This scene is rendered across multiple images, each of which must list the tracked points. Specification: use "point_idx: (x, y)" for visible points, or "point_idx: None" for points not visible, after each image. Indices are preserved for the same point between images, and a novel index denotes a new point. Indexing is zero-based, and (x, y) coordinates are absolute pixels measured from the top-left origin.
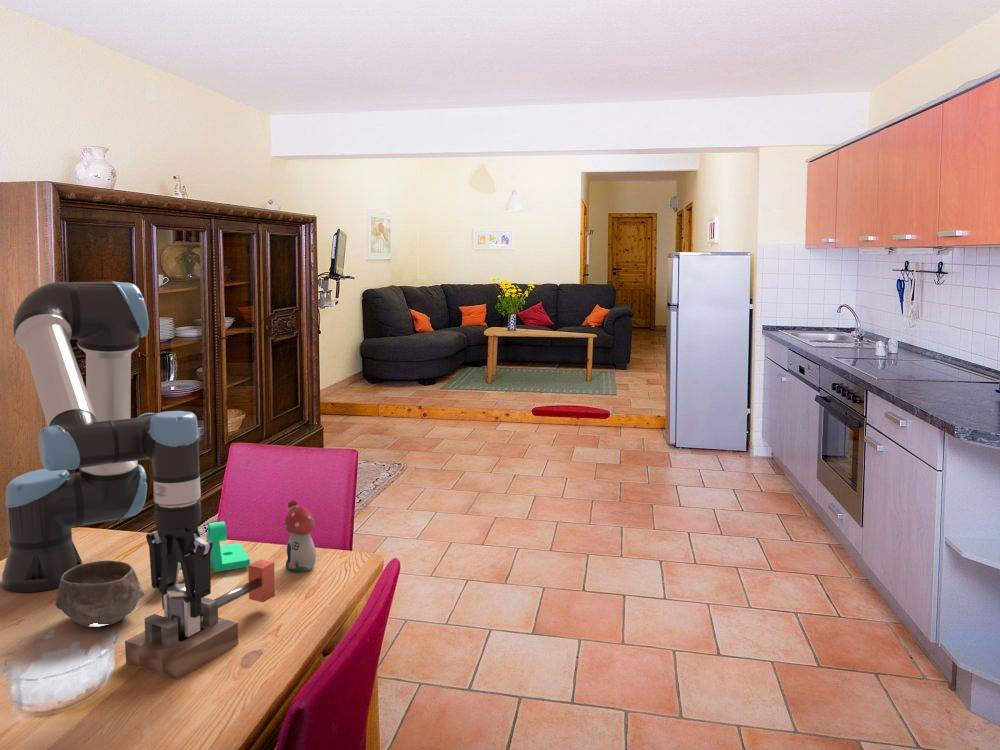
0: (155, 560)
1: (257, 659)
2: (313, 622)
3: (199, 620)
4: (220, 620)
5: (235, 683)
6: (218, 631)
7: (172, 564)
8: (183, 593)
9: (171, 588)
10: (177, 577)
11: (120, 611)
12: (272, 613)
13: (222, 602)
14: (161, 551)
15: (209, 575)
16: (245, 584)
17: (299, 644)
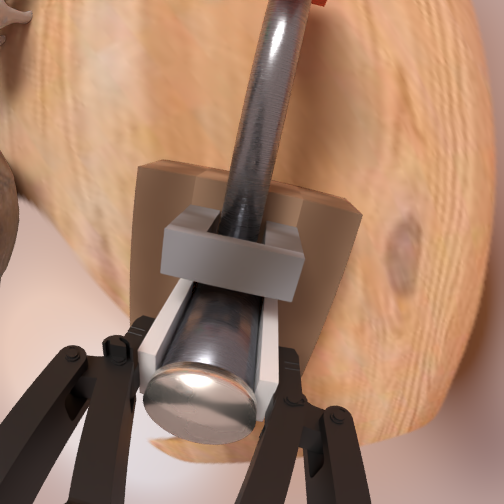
0: (45, 475)
1: (419, 260)
2: (462, 58)
3: (277, 320)
4: (297, 212)
5: (403, 345)
6: (331, 283)
7: (120, 489)
8: (241, 437)
9: (161, 415)
10: (10, 11)
11: (12, 233)
12: (339, 10)
13: (274, 164)
14: (17, 483)
15: (363, 487)
16: (287, 6)
17: (478, 175)
